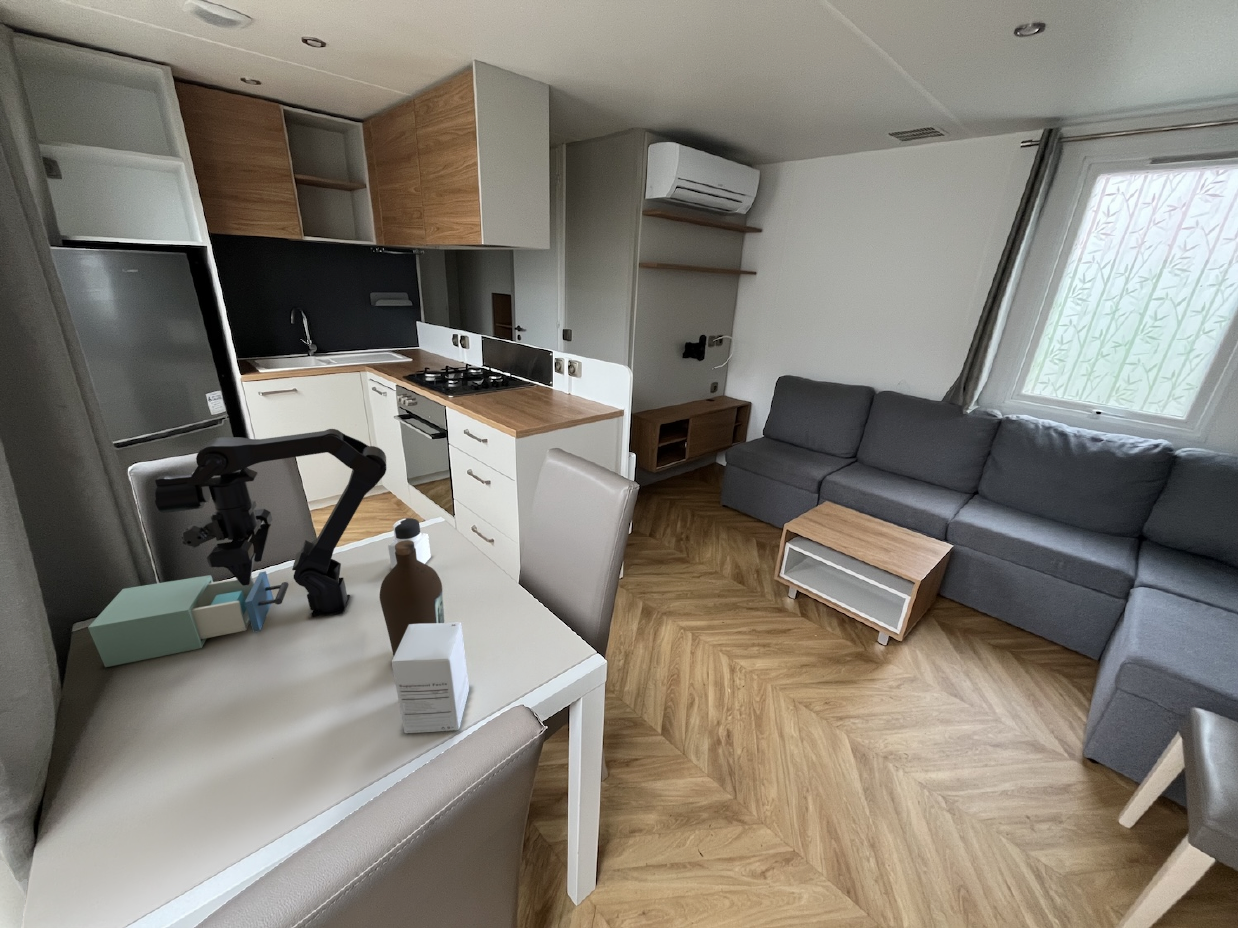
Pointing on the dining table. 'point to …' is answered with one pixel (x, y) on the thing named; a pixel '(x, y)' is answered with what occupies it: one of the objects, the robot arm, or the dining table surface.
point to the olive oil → (410, 594)
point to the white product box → (431, 677)
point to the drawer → (235, 606)
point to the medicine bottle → (410, 531)
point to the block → (231, 599)
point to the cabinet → (149, 622)
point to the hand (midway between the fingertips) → (252, 572)
